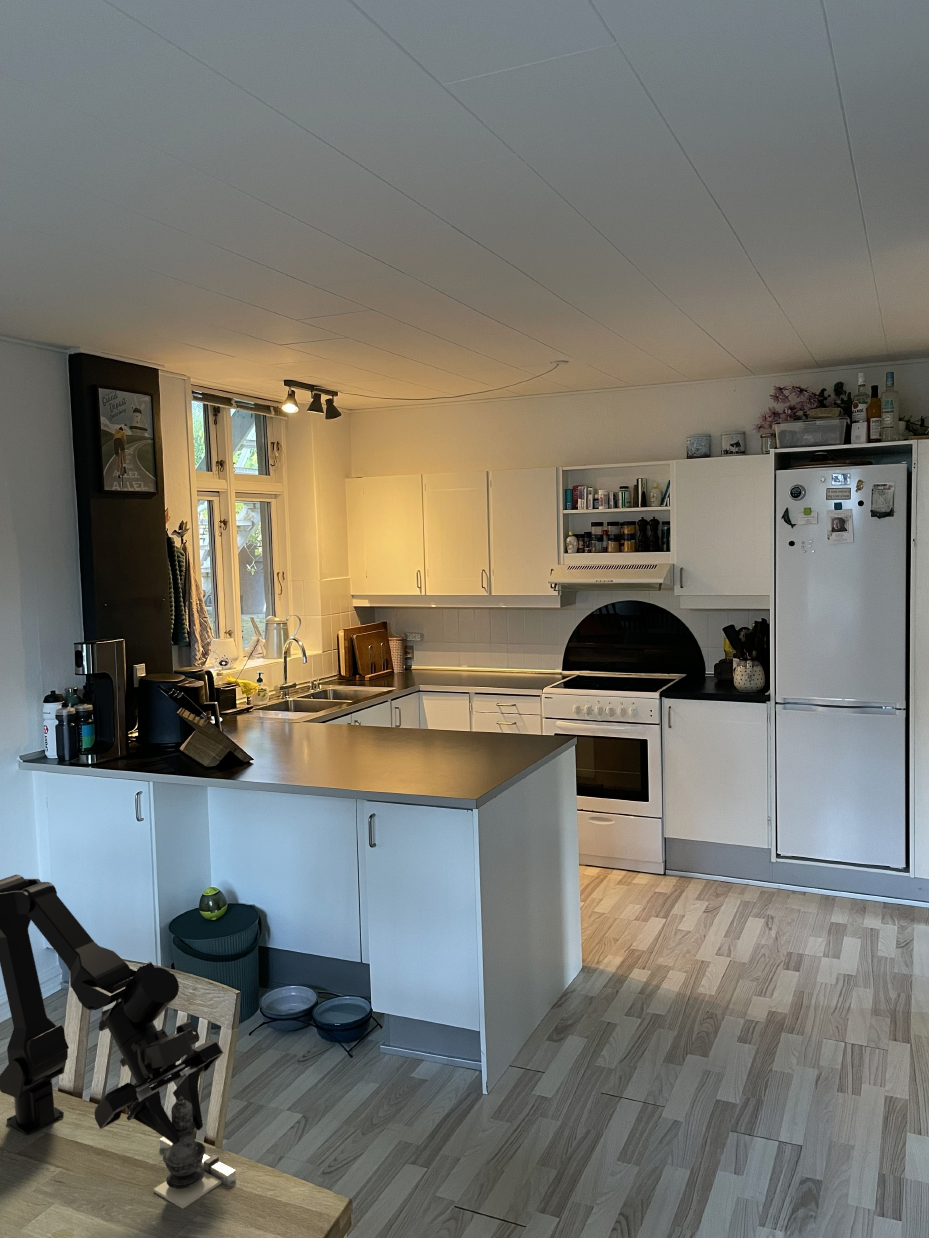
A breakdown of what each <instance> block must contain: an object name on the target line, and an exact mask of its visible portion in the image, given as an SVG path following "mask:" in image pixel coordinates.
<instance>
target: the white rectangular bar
mask: <svg viewBox="0 0 929 1238" xmlns="http://www.w3.org/2000/svg"><path fill="white" fill-rule="evenodd" d="M171 1146H172V1143H171V1142H170V1141H169V1140H167V1139H166V1138H164V1137H163V1136H162V1137H161V1138H159V1148H160V1149H161V1150H163V1151H164V1152H165V1151H166V1150H167V1149H168V1148H169V1147H171ZM219 1158H220V1157H219V1156H218V1155H216V1154H213V1155H211V1156H209V1155H207V1154H206V1153H205V1154H204V1156H203V1160H202V1163H201V1165H200V1166H201V1167H202V1168H203V1169H204V1171H205V1172H206V1173H208V1174H210V1175H212V1176H214V1177H216V1178H217V1179H219V1180H221V1183H222V1182H223V1183H224V1184H225V1185H228V1186H229V1185H230V1184H232V1183H233V1182H235V1181H236V1180H237V1175H236V1169H233V1168H232V1167H230V1166H228V1165H226V1164H224V1163H222V1162H220V1159H219Z"/></svg>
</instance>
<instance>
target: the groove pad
mask: <svg viewBox="0 0 929 1238" xmlns="http://www.w3.org/2000/svg"><path fill="white" fill-rule="evenodd" d="M221 1184H222V1181H221V1180H219V1179H217V1178H216V1177H214V1176H212V1175H210V1174H208V1173H206V1172H205V1175H204V1177H203V1179H202V1180H201V1181H200V1182H199V1183H197V1184H196V1185H194V1186H192V1187H189V1188H185V1189H175V1188H171V1187H169V1186H168V1185H167V1182H166V1181H164V1182H163V1183H161V1184H159V1185H158V1186H156V1187H154V1188H153V1192H154V1193H156V1194H157V1195H158V1196H160V1197H162V1198H164V1199H166V1200H167V1201H169V1202H171V1203H172V1204H174V1205H176V1206H177V1207H179V1208H181V1209H185V1208H186V1207H188V1206H189V1205H191V1204H192V1203H194V1202H195V1201H196V1200H198V1199H199V1198H201V1197H203V1196H204V1195H205V1194H207V1193H209V1192H210V1191H211V1190H213V1189H215V1188H216V1187H218V1186H219V1185H221Z"/></svg>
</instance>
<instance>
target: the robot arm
mask: <svg viewBox="0 0 929 1238" xmlns="http://www.w3.org/2000/svg"><path fill="white" fill-rule="evenodd" d="M31 922H32V923H33V924H34V926H35V927H36V928H37V930H38V931H39V933H40V934H42V936H43V937H44V938H45V940H46V941H47V943H49V945H50V946H51V948H52V949H53V950H54V952H55V953H56V954H57V955H58V956H59V957H60V959H61V960H62V962H63V963H64V964H65V965H66V967H67V969H68V970H69V975H70V977H69V978H70V979H69V983H70V984H69V985H70V987H71V989H72V990H73V992H74V994H75V996H76V997H77V1000H78V1002H79V1003H80V1004H81V1005H82V1006H83V1007H84V1008H85V1009H86V1010H88V1011H91V1010H92V1011H98V1010H100V1009H102V1008H105V1007H107V1006H109V1005H111V1004H113V1006H112V1007H110V1008H108V1009H104V1010H103V1011H102V1012H101V1019H100V1021H99V1024H98V1031H100V1032H104V1031H105V1030H107V1029H108V1031H109V1034H110V1035H111V1037H112V1038H113V1039H112V1040H113V1041H114V1042H115V1044H116V1047H117V1049H118V1050H119V1052H120V1054H121V1056H122V1057H121V1059H120V1060H119V1062H120V1065H121V1067H122V1068H124V1067H126V1066H127V1068H128V1070H129V1071H130V1073H131V1074H130V1075H132V1078H133V1079H134V1081H135V1082H134V1084H132V1083H131V1082H127V1083H125V1084H122V1085H121V1086H119V1087H117V1088H115V1089H113V1090H111V1091H109V1092H107V1093H106V1094H105V1095H104V1097H103V1098H102V1099H101V1101H99V1103H98V1105H96V1107H95V1110H94V1119H95V1121H96V1124H97V1125H98V1128H99V1130H102V1129H104V1128H106V1127H108V1126H110V1125H112V1124H113V1123H115V1122H117V1121H119V1120H120V1119H121V1116H122V1113H123V1110H124V1109H126V1108H127V1110H128V1112H129V1114H128V1115H127V1116H126V1119H127V1121H128V1122H130V1121H132V1120H135V1121H136V1122H138V1123H140V1124H142V1125H145V1126H147V1127H148V1128H150V1129H151V1130H152V1131H155V1133H157V1134H158V1135H160V1136H162V1137H164V1138H166V1139H167V1140H169V1141H170V1142H171V1143H173V1144H174V1145H176V1144H177V1143H178V1142H179V1141H180V1140H179V1137H178V1134H177V1132H176V1130H175V1128H174V1126H173V1124H172V1120H171V1119H170V1118H169V1116H168V1113H167V1112H166V1110H165V1109H164V1106H163V1104H162V1098H161V1093H160V1089H162V1088H164V1087H166V1086H168V1085H169V1084H171V1083H173V1084H174V1085H175V1087H176V1088H175V1090H173V1092H172V1094H173V1097H174V1098H175V1099H176V1102H178V1101H180V1100H179V1098H180V1096H182V1097H183V1098H184V1099H183V1100H187V1101H189V1102H190V1103H191V1105H192V1115H193V1121H194V1122H195V1123H196V1127H195V1129H196V1130H197V1131H200V1130H201V1129H203V1126H204V1125H203V1118H202V1112H201V1111H202V1110H201V1104H200V1096H199V1081H200V1076H201V1075H203V1074H204V1073H206V1072H208V1070H210V1069H211V1068H212V1067H213V1066H214V1065H215V1063H216V1062H217V1061H218V1060H219V1059H220V1058H221V1056H222V1055H223V1054H224V1051H223V1050H222V1048H221V1046H220V1044H219V1043H218V1042H217V1041H214V1040H213V1039H209V1040H207V1041H205V1042H203V1043H202V1044H200V1045H198V1046H195V1047H194V1048H193V1046H192V1045H195V1044H196V1043H198V1042H199V1041H200V1035H199V1031H198V1029H197V1027H196V1025H195V1024H194V1023H193V1021H192V1020H188V1021H185V1022H184V1023H183V1022H182V1023H181V1024H178V1025H177V1026H176V1027H175V1032H176V1033H174V1034H172V1035H170V1036H169V1035H168V1034H167V1031H165V1030H164V1029H163V1028H161V1029H159V1030H158V1028H157V1027H156V1024H155V1023H154V1022H155V1021H156V1020H157V1019H158V1018H159V1017H160V1016H161V1015H162V1014H163V1012H165V1010H166V1009H167V1008H168V1007H169V1005H171V1003H172V1002H173V1001H174V1000H175V999H176V998H177V995H179V991H180V984H179V981H178V977H176V975H175V974H174V973H172V972H171V971H169V970H167V969H165V968H162V967H155V966H154V963H153V962H152V961H148V962H146V963H144V964H142V965H139V967H138V968H135V967H133V966H131V965H129V964H128V963H127V962H126V961H125V960H124V959H123V958H122V957H121V956H120V955H118V954H117V952H115V951H114V950H112V949H108V948H106V947H103V946H100V945H99V944H98V943H96V941H95V940H94V939H93V938H92V937H91V935H90V934H89V933H88V932H87V930H86V929H85V928H84V927H83V925H82V924H81V923H80V921H78V919H77V918H76V917H75V916H74V915H73V913H72V912H71V911H70V909H69V908H68V907H67V906H66V905H65V903H64V902H63V901H62V899H61V898H60V897H59V896H58V892H57V889H56V886H55V885H54V884H53V883H52V882H49V881H41V879H40V878H24V877H23V876H22V875H20V874H14V875H10V876H8V877H4V878H2V879H0V970H1V975H2V978H3V983H4V987H5V993H6V996H7V997H6V998H7V1002H8V1006H9V1011H10V1016H11V1020H12V1024H13V1025H12V1026H13V1029H12V1032H11V1036H10V1038H9V1042H8V1045H7V1048H6V1050H7V1061H8V1064H7V1066H5V1068H4V1069H3V1071H2V1072H1V1073H0V1093H2V1094H4V1095H8V1096H11V1097H13V1098H14V1099H13V1100H14V1101H13V1102H14V1111H15V1113H14V1115H12V1116H10V1117H8V1118H7V1119H6V1124H8V1125H10V1126H11V1127H13V1128H15V1129H16V1130H17V1131H19V1132H21V1133H23V1134H25V1135H29V1134H32V1133H33V1132H35V1131H37V1130H39V1129H41V1128H43V1127H45V1126H47V1125H49V1124H51V1123H53V1122H54V1121H57V1120H58V1119H61V1118H62V1117H64V1115H65V1114H64V1113H65V1112H64V1111H63V1110H61V1109H59V1108H58V1107H56V1106H55V1100H54V1087H53V1079H55V1078H56V1077H58V1076H60V1075H64V1073H65V1068H66V1064H67V1060H68V1057H69V1054H68V1053H69V1051H68V1049H69V1048H70V1047H69V1045H68V1042H67V1039H66V1036H65V1035H66V1031H65V1029H64V1027H63V1025H62V1024H59V1025H56V1023H54V1022H53V1021H52V1020H51V1019H50V1018H48V1014H47V1011H46V1006H45V1001H44V999H43V998H44V997H43V992H42V989H41V988H42V987H41V983H40V979H39V974H38V970H37V963H36V959H35V956H34V952H33V948H32V947H33V945H32V942H31V937H30V934H29V927H30V924H31ZM116 1001H117V1002H116ZM115 1002H116V1003H115ZM114 1003H115V1004H114ZM183 1057H185V1058H184V1059H183ZM181 1059H182V1061H181ZM180 1061H181V1062H180ZM178 1062H179V1063H178Z"/></svg>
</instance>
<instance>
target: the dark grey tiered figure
mask: <svg viewBox="0 0 929 1238" xmlns="http://www.w3.org/2000/svg"><path fill="white" fill-rule="evenodd" d="M183 1099H184V1098H183V1097H182V1096H180V1098H179V1100H180V1101H176V1102H174V1104H173V1105H172V1106H171V1110H170V1111H171V1112H170V1113H171V1123H172V1124H173V1126H174V1128H175V1130H176V1132H177V1134H178V1137H179V1140H180V1141H179V1142H178V1143H177V1144H176V1145H174V1144H173V1143H172V1146H171V1147H169V1148H168V1149H167V1150H166V1151H165V1150H164V1153H163V1154H162V1155H163V1156H162V1161H163V1163H164V1164H165V1166H166V1169H167V1171H168V1172H169V1174H168V1175H167V1176H166V1180H165V1182H167V1185H168V1186H169V1187H171V1188H175V1189H185V1188H189V1187H192V1186H194V1185H196V1184H197V1183H199V1182H200V1181H201V1180H202V1179H203V1177H204V1175H205V1171H204V1169H203V1168H202V1167H201V1166H200V1165H201V1163H202V1160H203V1156H204V1154H205V1155H206V1146H205V1144H204V1143H202V1142H200V1141H197V1140H196V1138H195V1129H196V1128H195V1127H196V1123H195V1122H194V1121H193V1115H192V1105H191V1103H190V1102H189V1101H187V1100H183Z"/></svg>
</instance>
